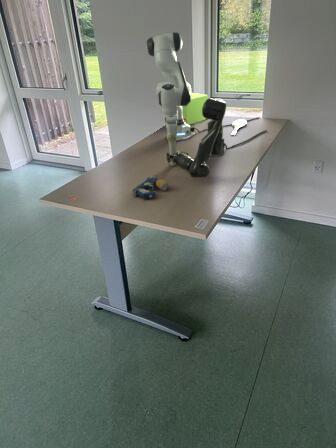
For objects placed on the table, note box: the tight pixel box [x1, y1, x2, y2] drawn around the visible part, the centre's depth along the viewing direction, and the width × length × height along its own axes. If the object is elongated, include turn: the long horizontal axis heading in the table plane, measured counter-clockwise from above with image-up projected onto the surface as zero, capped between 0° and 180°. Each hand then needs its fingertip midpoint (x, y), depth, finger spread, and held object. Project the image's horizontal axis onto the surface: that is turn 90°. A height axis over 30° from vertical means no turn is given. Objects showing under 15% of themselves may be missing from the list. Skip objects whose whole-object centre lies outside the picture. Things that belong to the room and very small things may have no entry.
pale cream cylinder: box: [168, 141, 178, 167], centre depth 198 cm, size 4×4×17 cm
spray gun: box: [131, 175, 169, 200], centre depth 172 cm, size 21×4×15 cm
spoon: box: [231, 119, 248, 136], centre depth 255 cm, size 35×11×2 cm, turn 159°
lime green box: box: [182, 91, 209, 126], centre depth 283 cm, size 25×21×23 cm
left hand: (171, 140), depth 195 cm, fingers closed on lid, 4 cm apart
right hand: (170, 153), depth 202 cm, fingers closed on pale cream cylinder, 4 cm apart
